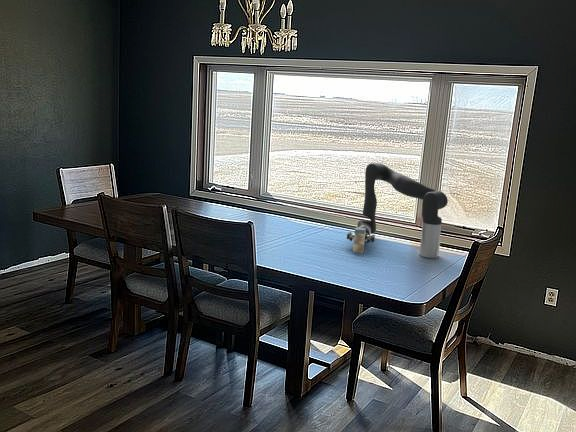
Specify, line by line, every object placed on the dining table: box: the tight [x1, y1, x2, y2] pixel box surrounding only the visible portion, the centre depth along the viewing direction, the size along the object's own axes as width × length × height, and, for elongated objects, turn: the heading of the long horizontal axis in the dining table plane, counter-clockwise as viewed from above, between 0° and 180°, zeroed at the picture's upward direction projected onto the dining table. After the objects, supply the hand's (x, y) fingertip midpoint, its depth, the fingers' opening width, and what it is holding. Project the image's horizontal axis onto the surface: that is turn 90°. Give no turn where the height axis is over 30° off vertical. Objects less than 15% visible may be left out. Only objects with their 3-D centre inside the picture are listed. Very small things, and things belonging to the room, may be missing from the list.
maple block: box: [352, 226, 366, 254], centre depth 300 cm, size 5×5×12 cm
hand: (359, 240), depth 299 cm, fingers open, 8 cm apart
